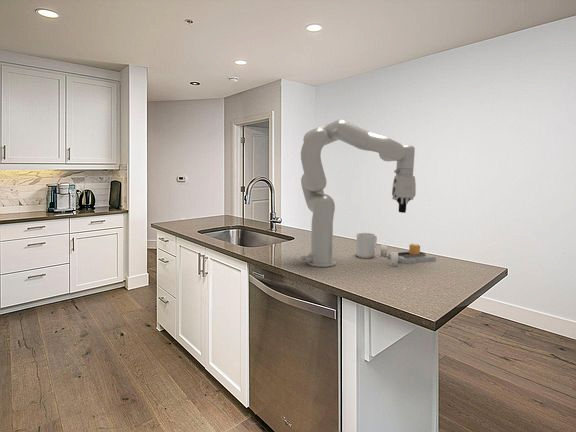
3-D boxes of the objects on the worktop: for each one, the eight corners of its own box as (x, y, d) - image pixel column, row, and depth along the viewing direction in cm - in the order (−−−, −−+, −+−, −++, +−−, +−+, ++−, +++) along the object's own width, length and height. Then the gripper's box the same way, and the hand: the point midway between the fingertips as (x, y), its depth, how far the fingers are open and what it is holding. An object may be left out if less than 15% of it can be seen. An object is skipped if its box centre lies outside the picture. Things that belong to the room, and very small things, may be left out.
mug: (365, 259, 175) (366, 236, 173) (352, 256, 182) (352, 234, 180) (382, 256, 182) (383, 234, 180) (368, 253, 189) (369, 231, 188)
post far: (382, 256, 180) (383, 244, 180) (379, 255, 183) (379, 243, 183) (387, 256, 181) (388, 244, 181) (384, 255, 184) (385, 243, 183)
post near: (393, 266, 162) (393, 253, 161) (389, 265, 164) (389, 252, 164) (398, 266, 162) (399, 253, 162) (395, 264, 165) (395, 251, 165)
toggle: (414, 255, 173) (414, 244, 173) (409, 253, 177) (409, 243, 177) (419, 255, 174) (420, 244, 174) (414, 253, 178) (414, 242, 177)
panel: (402, 263, 167) (403, 256, 167) (388, 257, 179) (388, 251, 178) (435, 261, 173) (436, 254, 172) (419, 255, 184) (419, 249, 184)
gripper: (395, 172, 163) (392, 213, 165) (423, 173, 168) (420, 213, 170) (386, 172, 170) (383, 211, 172) (413, 173, 175) (410, 211, 177)
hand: (402, 212), depth 171 cm, fingers closed
